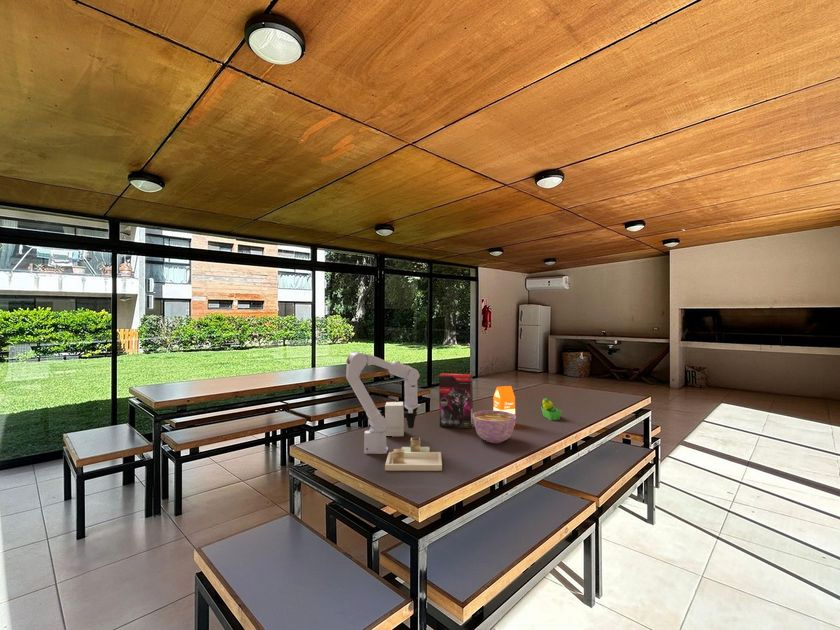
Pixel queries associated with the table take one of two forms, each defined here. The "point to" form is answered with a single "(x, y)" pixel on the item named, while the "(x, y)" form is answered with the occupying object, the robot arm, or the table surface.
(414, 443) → the labelled block
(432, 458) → the tray
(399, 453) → the plain block
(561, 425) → the table surface
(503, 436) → the bowl of food
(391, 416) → the supplement box
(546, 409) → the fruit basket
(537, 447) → the table surface
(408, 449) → the pad
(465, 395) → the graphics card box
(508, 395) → the orange juice
